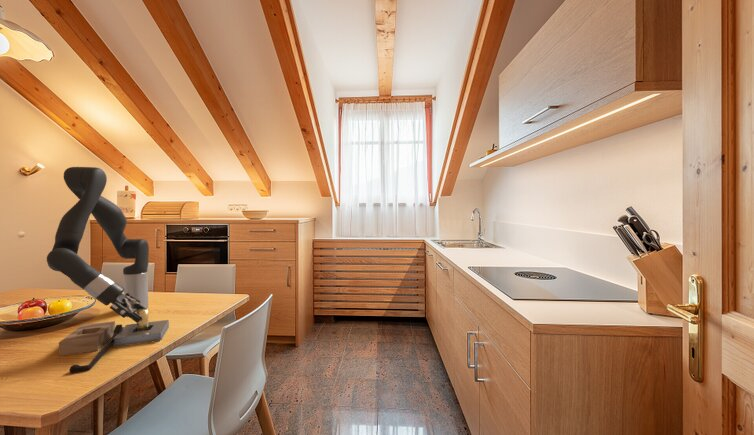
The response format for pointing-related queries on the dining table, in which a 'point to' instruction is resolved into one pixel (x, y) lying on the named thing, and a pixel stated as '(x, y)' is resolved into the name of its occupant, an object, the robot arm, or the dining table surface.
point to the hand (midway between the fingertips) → (143, 316)
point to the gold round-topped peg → (143, 320)
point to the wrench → (87, 367)
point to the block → (141, 333)
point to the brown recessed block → (86, 338)
